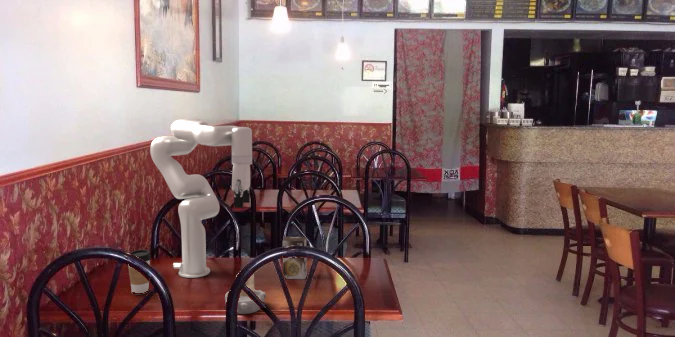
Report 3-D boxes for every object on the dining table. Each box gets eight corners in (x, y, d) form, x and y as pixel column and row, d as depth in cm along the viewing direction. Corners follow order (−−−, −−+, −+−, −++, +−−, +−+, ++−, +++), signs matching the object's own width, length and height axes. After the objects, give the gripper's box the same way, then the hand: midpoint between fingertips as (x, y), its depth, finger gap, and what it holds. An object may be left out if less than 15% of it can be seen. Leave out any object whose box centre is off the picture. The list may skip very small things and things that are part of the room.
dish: (248, 318, 181) (248, 303, 181) (216, 310, 188) (215, 296, 187) (274, 304, 194) (273, 290, 193) (243, 297, 200) (242, 284, 200)
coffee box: (307, 274, 227) (307, 236, 225) (304, 279, 220) (304, 240, 218) (285, 273, 227) (285, 235, 225) (282, 278, 221) (282, 239, 219)
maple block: (236, 295, 188) (236, 276, 187) (240, 290, 193) (239, 271, 192) (250, 296, 188) (250, 276, 187) (254, 291, 192) (253, 272, 192)
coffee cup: (156, 289, 208) (155, 250, 206) (142, 296, 200) (140, 256, 198) (138, 286, 210) (137, 248, 208) (123, 293, 202) (121, 254, 201)
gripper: (238, 157, 214) (238, 200, 216) (225, 162, 197) (225, 209, 199) (257, 157, 213) (257, 201, 215) (246, 163, 196) (246, 210, 198)
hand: (242, 205), depth 207 cm, fingers open, 9 cm apart
